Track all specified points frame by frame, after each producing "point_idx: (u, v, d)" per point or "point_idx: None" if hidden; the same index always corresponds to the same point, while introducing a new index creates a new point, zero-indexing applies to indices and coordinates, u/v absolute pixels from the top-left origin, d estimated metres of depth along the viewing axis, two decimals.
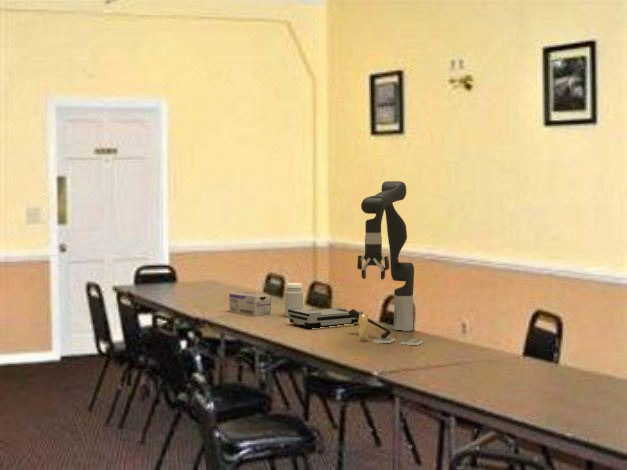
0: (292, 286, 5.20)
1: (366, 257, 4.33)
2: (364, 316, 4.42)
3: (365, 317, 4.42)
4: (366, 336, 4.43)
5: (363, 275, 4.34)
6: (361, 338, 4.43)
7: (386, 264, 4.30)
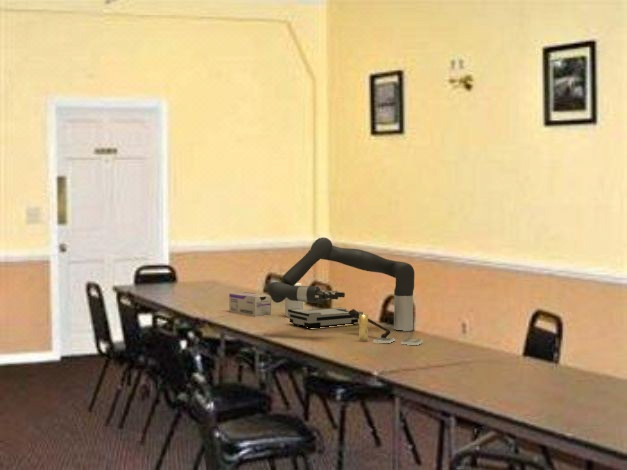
0: None
1: None
2: (364, 316, 4.42)
3: (365, 317, 4.42)
4: (366, 336, 4.43)
5: None
6: (361, 338, 4.43)
7: (322, 299, 4.44)
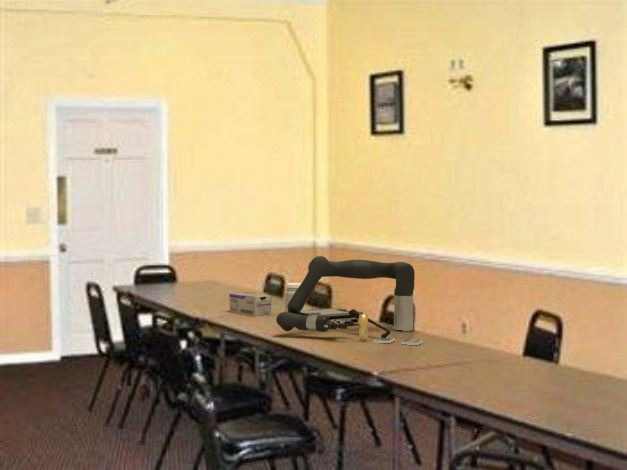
0: (292, 286, 5.20)
1: None
2: (364, 316, 4.42)
3: (365, 317, 4.42)
4: (366, 336, 4.43)
5: None
6: (361, 338, 4.43)
7: (331, 328, 4.43)
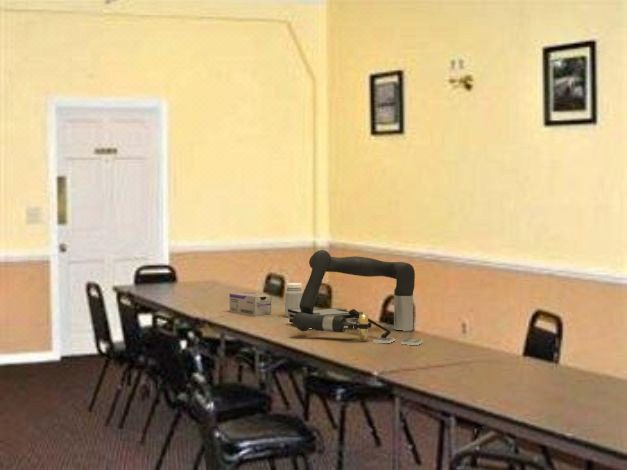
0: (292, 286, 5.20)
1: None
2: (364, 316, 4.42)
3: (365, 317, 4.42)
4: (366, 336, 4.43)
5: (367, 327, 4.46)
6: (361, 338, 4.43)
7: None
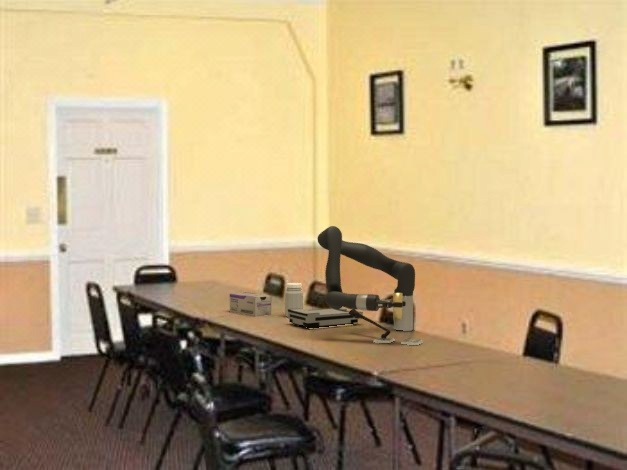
0: (292, 286, 5.20)
1: None
2: (399, 294, 4.35)
3: (400, 295, 4.35)
4: (400, 315, 4.36)
5: None
6: (395, 317, 4.36)
7: (385, 307, 4.34)
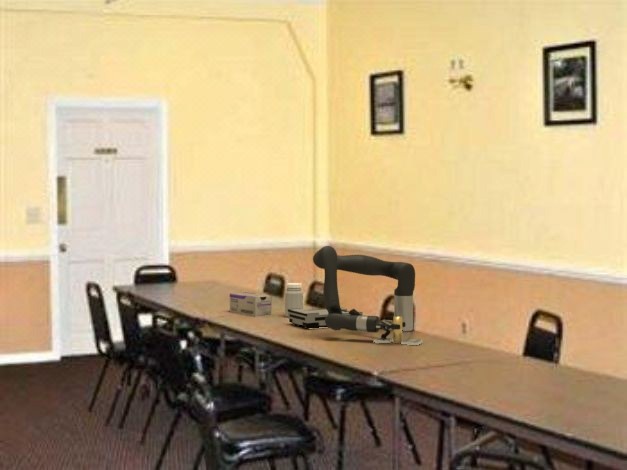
0: (292, 286, 5.20)
1: None
2: (399, 318, 4.35)
3: (400, 319, 4.36)
4: (400, 338, 4.36)
5: None
6: (395, 340, 4.36)
7: None
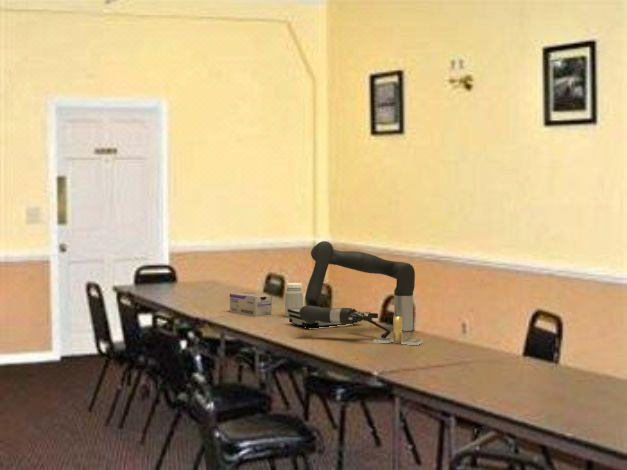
0: (292, 286, 5.20)
1: None
2: (398, 318, 4.35)
3: (400, 319, 4.36)
4: (400, 338, 4.36)
5: None
6: (395, 340, 4.36)
7: None
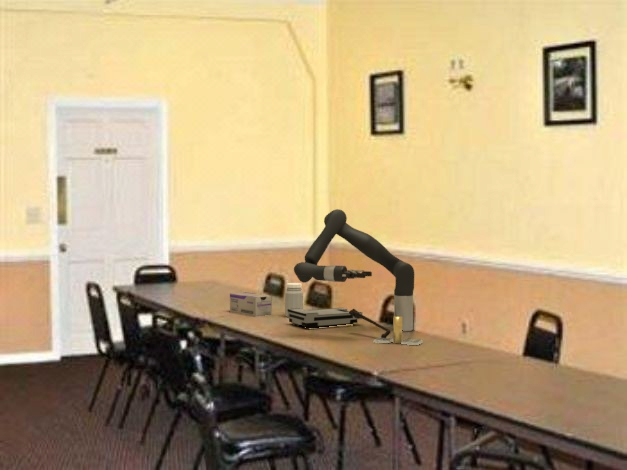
0: (292, 286, 5.20)
1: None
2: (399, 318, 4.35)
3: (400, 319, 4.36)
4: (400, 338, 4.36)
5: None
6: (395, 340, 4.36)
7: (349, 278, 4.43)
